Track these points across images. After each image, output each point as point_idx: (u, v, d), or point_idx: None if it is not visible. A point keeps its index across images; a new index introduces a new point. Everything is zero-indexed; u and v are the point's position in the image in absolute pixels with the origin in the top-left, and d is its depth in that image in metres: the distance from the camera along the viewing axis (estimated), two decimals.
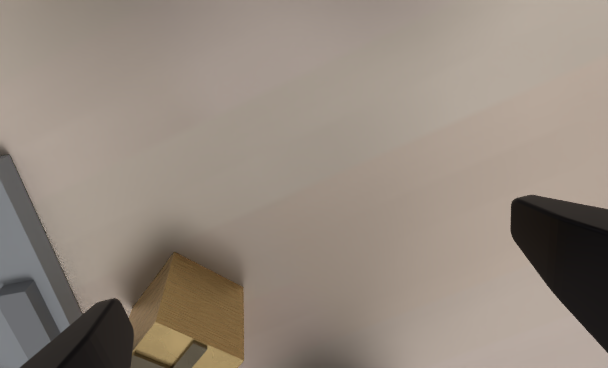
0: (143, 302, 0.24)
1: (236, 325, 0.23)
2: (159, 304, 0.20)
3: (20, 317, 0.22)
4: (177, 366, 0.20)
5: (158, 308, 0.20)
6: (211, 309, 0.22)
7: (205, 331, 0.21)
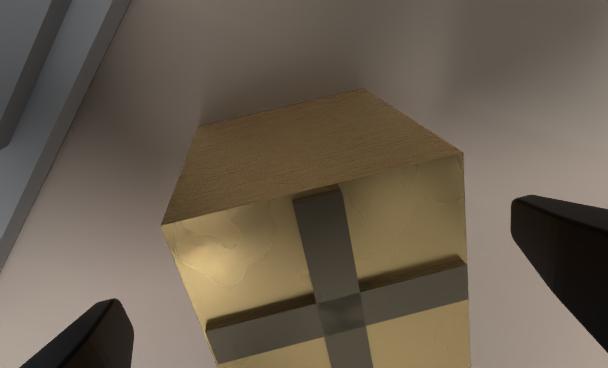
0: (269, 124, 0.10)
1: None
2: (422, 132, 0.08)
3: None
4: (380, 293, 0.07)
5: (430, 136, 0.08)
6: None
7: None
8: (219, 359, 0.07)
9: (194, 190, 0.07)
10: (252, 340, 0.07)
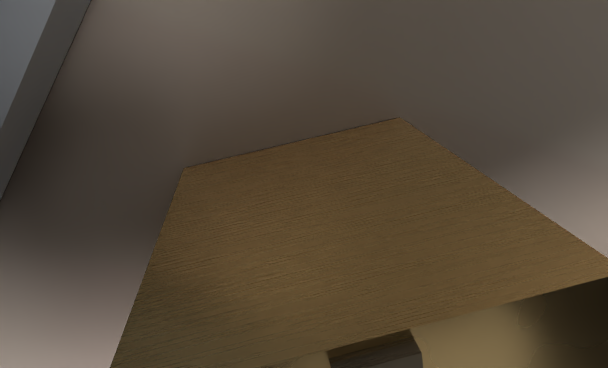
0: (279, 172, 0.08)
1: None
2: (524, 210, 0.05)
3: None
4: None
5: (542, 222, 0.05)
6: None
7: None
8: None
9: (164, 311, 0.05)
10: None
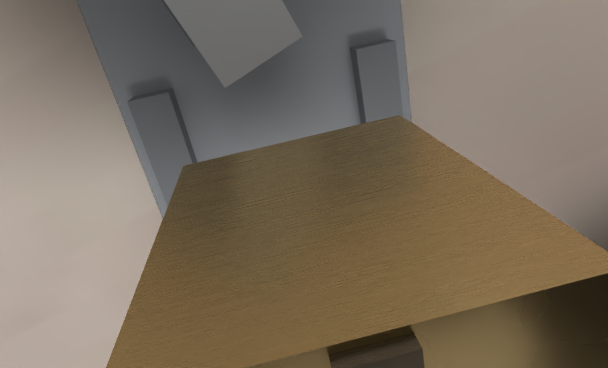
0: (278, 169, 0.08)
1: None
2: (525, 206, 0.05)
3: (379, 85, 0.16)
4: None
5: (544, 218, 0.05)
6: None
7: None
8: None
9: (162, 308, 0.05)
10: None
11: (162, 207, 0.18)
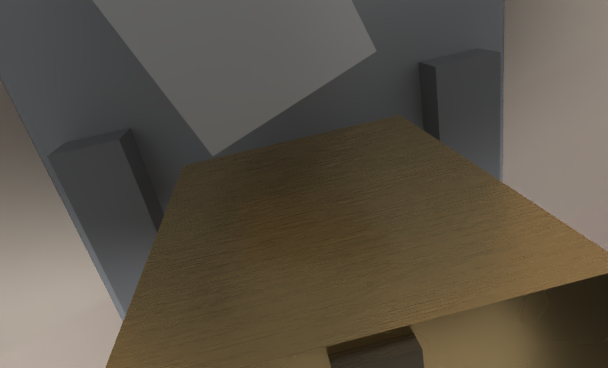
0: (278, 169, 0.08)
1: None
2: (525, 206, 0.05)
3: (467, 124, 0.10)
4: None
5: (544, 218, 0.05)
6: None
7: None
8: None
9: (161, 308, 0.05)
10: None
11: (120, 305, 0.12)
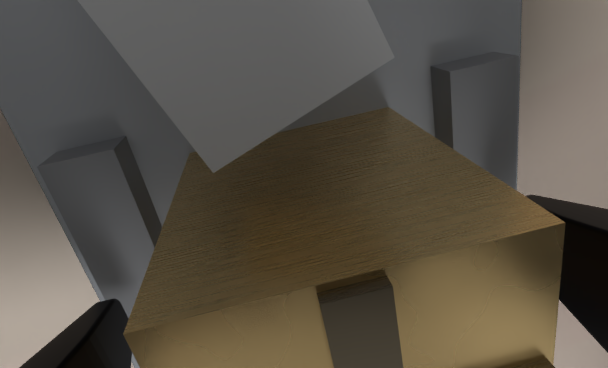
0: (277, 154, 0.08)
1: None
2: (489, 180, 0.06)
3: (483, 131, 0.10)
4: None
5: (503, 188, 0.05)
6: None
7: None
8: None
9: (177, 263, 0.05)
10: None
11: None
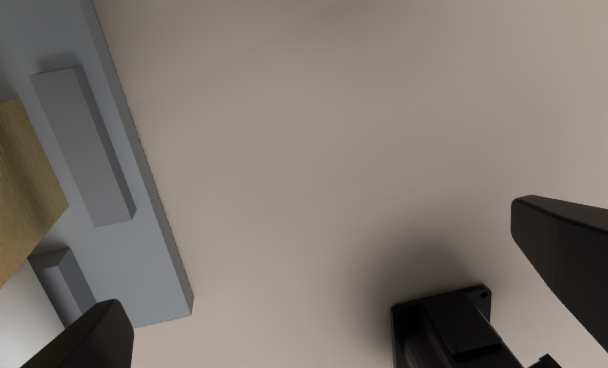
0: None
1: (24, 241, 0.14)
2: None
3: (66, 113, 0.16)
4: None
5: None
6: (8, 196, 0.14)
7: None
8: None
9: None
10: None
11: None
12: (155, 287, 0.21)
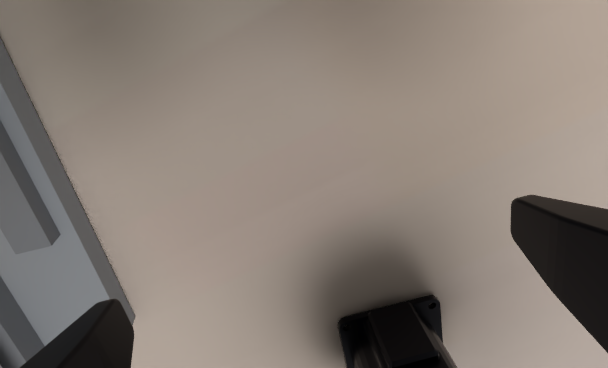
0: None
1: None
2: None
3: None
4: None
5: None
6: None
7: None
8: None
9: None
10: None
11: None
12: (88, 309, 0.21)
